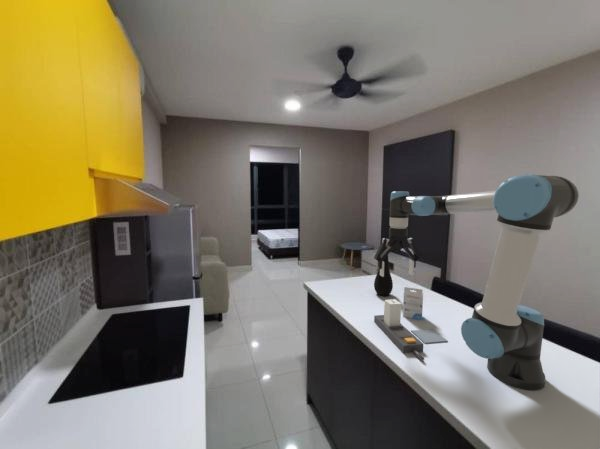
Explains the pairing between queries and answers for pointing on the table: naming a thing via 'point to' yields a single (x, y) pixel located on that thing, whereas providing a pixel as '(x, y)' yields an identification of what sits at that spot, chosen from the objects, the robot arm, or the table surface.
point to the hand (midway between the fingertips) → (396, 275)
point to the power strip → (400, 337)
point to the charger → (392, 312)
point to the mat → (429, 336)
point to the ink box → (413, 303)
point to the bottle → (384, 280)
